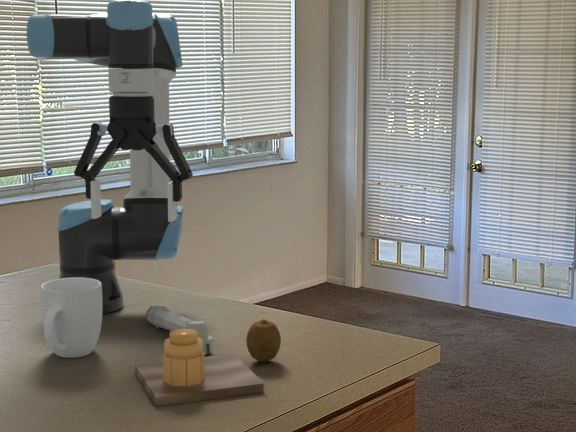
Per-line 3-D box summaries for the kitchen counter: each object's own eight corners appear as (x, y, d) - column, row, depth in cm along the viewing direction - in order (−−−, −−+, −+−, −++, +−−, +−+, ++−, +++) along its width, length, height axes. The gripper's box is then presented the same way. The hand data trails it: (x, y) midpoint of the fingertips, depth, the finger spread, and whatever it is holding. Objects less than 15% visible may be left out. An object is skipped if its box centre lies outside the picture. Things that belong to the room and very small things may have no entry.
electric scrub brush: (165, 303, 186) (216, 317, 164) (168, 334, 186) (218, 352, 164) (142, 306, 183) (189, 320, 162) (144, 338, 184) (192, 357, 162)
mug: (77, 372, 155) (75, 299, 153) (20, 366, 158) (17, 295, 155) (113, 345, 170) (111, 279, 167) (60, 341, 172) (58, 275, 170)
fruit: (253, 369, 157) (253, 326, 156) (241, 358, 163) (241, 316, 162) (286, 365, 160) (286, 322, 158) (272, 354, 165) (273, 313, 164)
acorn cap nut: (160, 384, 145) (159, 337, 144) (170, 371, 152) (170, 326, 150) (198, 387, 144) (197, 339, 143) (207, 373, 151) (207, 328, 149)
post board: (135, 373, 155) (134, 342, 154) (233, 361, 161) (233, 332, 160) (156, 406, 140) (155, 373, 139) (263, 392, 147) (263, 360, 146)
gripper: (52, 94, 148) (56, 220, 152) (198, 96, 144) (199, 225, 148) (69, 92, 155) (73, 212, 159) (209, 94, 151) (209, 217, 155)
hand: (134, 219), depth 153 cm, fingers open, 13 cm apart
